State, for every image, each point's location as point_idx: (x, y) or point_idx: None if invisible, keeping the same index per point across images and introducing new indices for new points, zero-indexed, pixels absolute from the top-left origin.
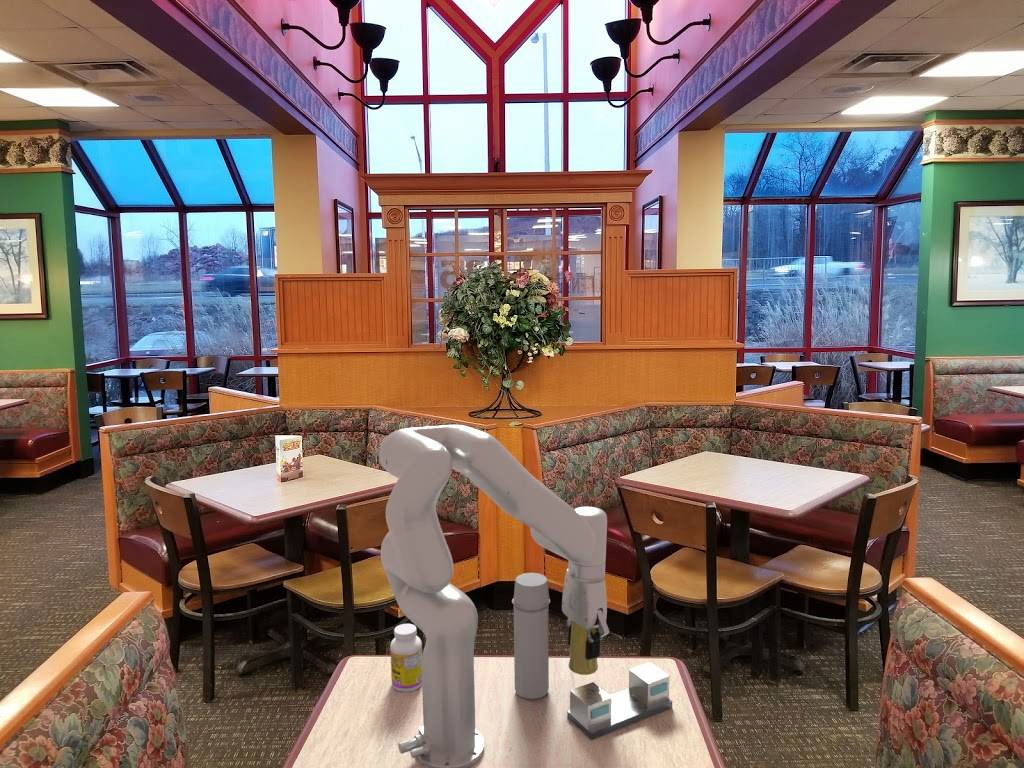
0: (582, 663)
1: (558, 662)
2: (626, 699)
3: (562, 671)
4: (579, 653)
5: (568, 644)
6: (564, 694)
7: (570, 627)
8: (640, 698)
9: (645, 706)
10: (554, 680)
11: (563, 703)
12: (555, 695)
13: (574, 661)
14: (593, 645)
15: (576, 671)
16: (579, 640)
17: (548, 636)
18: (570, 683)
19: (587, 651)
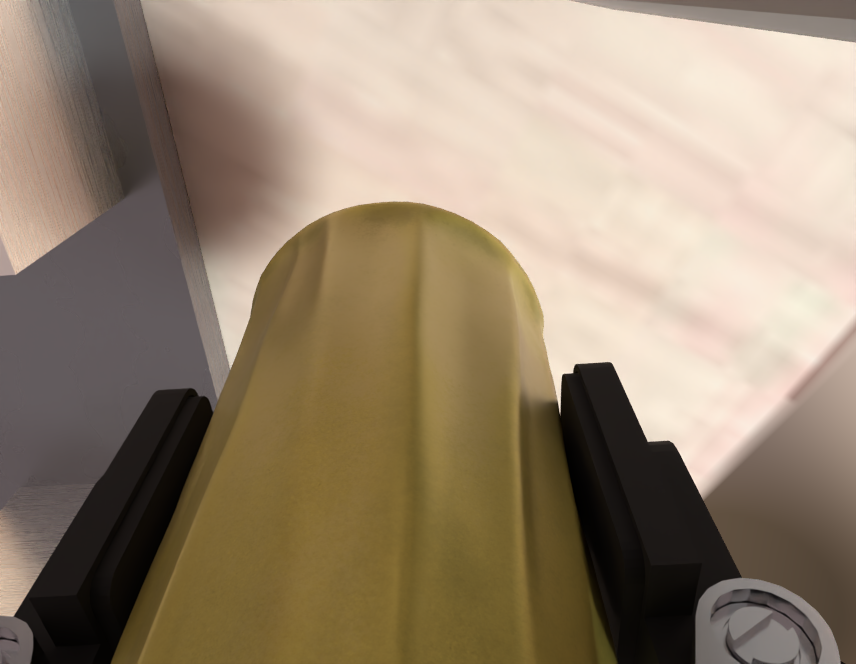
0: (256, 326)
1: (819, 273)
2: (125, 425)
3: (703, 241)
4: (253, 367)
5: (602, 363)
6: (432, 99)
7: (681, 588)
8: (80, 495)
9: (26, 478)
10: (639, 123)
11: (324, 25)
12: (453, 20)
13: (329, 266)
14: (29, 608)
15: (309, 233)
16: (205, 512)
17: (756, 8)
18: (536, 216)
19: (114, 467)
